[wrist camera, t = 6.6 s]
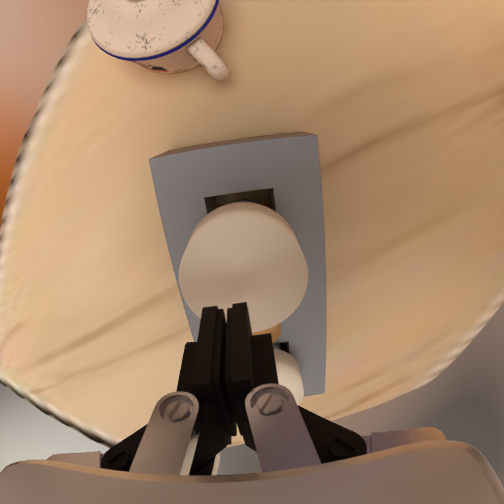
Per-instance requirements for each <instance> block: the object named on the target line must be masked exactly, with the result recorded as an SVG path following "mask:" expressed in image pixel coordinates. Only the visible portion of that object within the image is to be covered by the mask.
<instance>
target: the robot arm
mask: <svg viewBox="0 0 504 504" xmlns="http://www.w3.org/2000/svg"><path fill="white" fill-rule="evenodd" d="M237 425H238V428H239V432H240V435H243V438H244V442H245V445H247V446H248V447H249V448H251V449H252V450H255V451H256V452H257V454H258V457H259V461H260V465H261V469H262V472H261V473H249V474H235V475H217V472H218V467H219V462H220V451H222V450H223V449H224V448H225V447H226V446H227V445H229V444H231V436H236V435H237ZM0 504H504V489H503V486H502V484H501V482H500V481H499V479H498V477H497V475H496V474H495V472H494V470H493V468H492V467H491V465H490V464H489V462H488V461H487V460H486V458H485V457H484V456H483V455H482V454H481V453H480V451H478V450H477V449H476V448H475V447H473V446H472V445H470V444H467V443H463V442H458V441H446V438H445V436H444V434H443V433H442V432H441V431H440V430H438V429H436V428H433V427H423V428H416V429H408V430H399V431H388V432H378V433H371V435H370V436H360V435H358V434H357V433H355V432H353V431H351V430H349V429H346V428H344V427H342V426H340V425H337V424H335V423H333V422H331V421H329V420H327V419H325V418H322V417H320V416H318V415H316V414H314V413H312V412H310V411H308V410H306V409H304V408H302V407H300V406H298V405H297V403H296V401H295V398H294V396H293V394H292V393H291V391H290V390H289V389H288V388H286V387H285V386H282V385H279V382H278V375H277V369H276V362H275V356H274V349H273V342H272V336H271V333H267V334H259V335H252V329H251V324H250V318H249V312H248V306H247V302H242V303H234V304H232V308H227V323H226V318H225V314H224V310H223V309H218V306H210V307H203V308H202V314H201V320H200V326H199V333H198V339H197V342H187V343H186V345H185V349H184V354H183V359H182V364H181V370H180V375H179V381H178V386H177V392H173V393H169V394H167V395H165V396H163V397H162V398H161V399H160V400H159V401H158V402H157V404H156V406H155V408H154V410H153V413H152V415H151V418H150V420H149V422H148V424H147V425H145V426H144V427H142V428H141V429H139V430H138V431H136V432H135V433H133V434H132V435H130V436H129V437H127V438H126V439H124V440H123V441H121V442H120V443H118V444H116V445H115V446H113V447H112V448H110V449H109V450H108V451H107V452H106V453H105V454H102V453H101V452H100V451H98V452H85V453H67V454H56V455H52V456H51V457H49V458H48V459H47V460H26V461H19V462H16V463H12V464H10V465H8V466H6V467H5V468H4V469H3V470H2V471H1V472H0Z"/></svg>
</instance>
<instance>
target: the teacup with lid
mask: <svg viewBox="0 0 504 504" xmlns="http://www.w3.org/2000/svg"><path fill="white" fill-rule="evenodd" d="M87 25H88V29H89V32H90V35H91V37H92V39H93V40H94V42H95V43H96V45H97V46H98V47H99V48H100V49H101V50H102V51H104V52H105V53H107V54H109V55H111V56H113V57H115V58H118V59H122V60H128V61H132V62H134V63H136V64H139V65H141V66H143V67H145V68H147V69H149V70H151V71H154V72H158V73H168V74H170V73H179V72H183V71H187V70H189V69H192V68H194V67H196V66H198V65H199V64H200V65H201V66H202V67H203V68H204V70H205V71H206V72H207V73H208V74H209V75H210V76H211V77H212V78H213V79H214V80H216V81H222V80H224V79H225V78H226V77H227V76H228V75H229V69H228V67H227V66H226V64H225V63H224V62H223V60H222V59H221V58H220V57H219V56H218V55H217V54H216V53H215V49H216V48H217V46H218V44H219V43H220V40H221V37H222V34H223V18H222V13H221V8H220V4H219V0H90V1H89V5H88V10H87Z"/></svg>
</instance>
